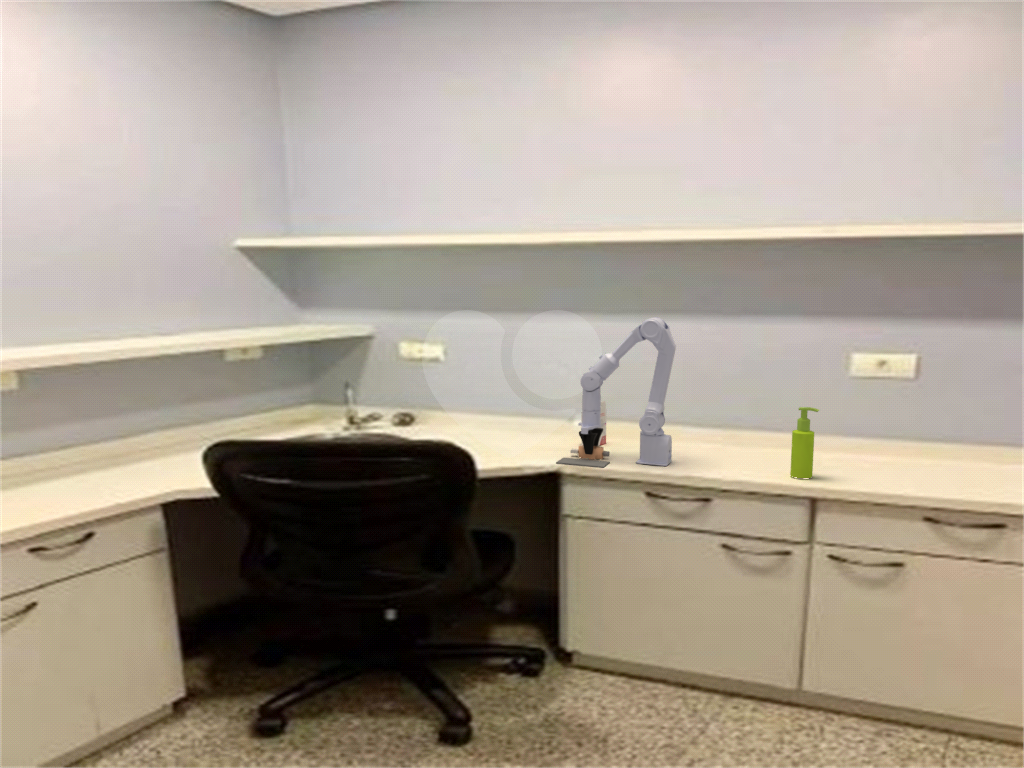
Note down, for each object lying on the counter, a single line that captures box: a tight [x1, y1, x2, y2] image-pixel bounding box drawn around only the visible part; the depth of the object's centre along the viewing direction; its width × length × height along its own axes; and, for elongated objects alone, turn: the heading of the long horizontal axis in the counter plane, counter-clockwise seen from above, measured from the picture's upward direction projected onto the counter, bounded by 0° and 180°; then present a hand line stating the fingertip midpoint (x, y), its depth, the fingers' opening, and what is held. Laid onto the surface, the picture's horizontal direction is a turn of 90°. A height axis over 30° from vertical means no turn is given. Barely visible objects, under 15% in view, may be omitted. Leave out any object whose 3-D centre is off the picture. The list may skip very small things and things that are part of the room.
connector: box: [569, 444, 611, 460], centre depth 260 cm, size 12×4×3 cm, turn 67°
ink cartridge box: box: [580, 400, 607, 446], centre depth 279 cm, size 9×5×15 cm, turn 143°
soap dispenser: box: [789, 406, 820, 478], centre depth 234 cm, size 6×7×20 cm
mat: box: [555, 457, 611, 469], centre depth 253 cm, size 15×7×1 cm, turn 67°
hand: (590, 452), depth 260 cm, fingers closed on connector, 4 cm apart
